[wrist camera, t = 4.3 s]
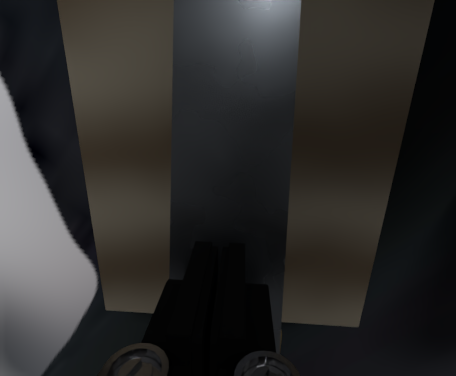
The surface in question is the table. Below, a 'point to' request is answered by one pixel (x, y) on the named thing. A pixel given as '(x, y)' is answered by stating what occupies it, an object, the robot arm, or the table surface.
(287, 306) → the block
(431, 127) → the table surface
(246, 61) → the bar
